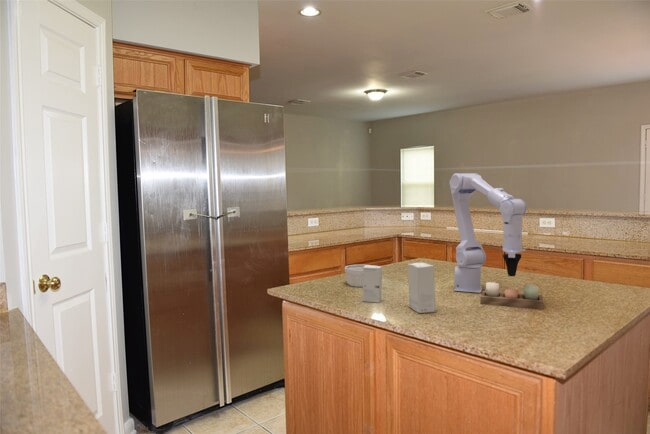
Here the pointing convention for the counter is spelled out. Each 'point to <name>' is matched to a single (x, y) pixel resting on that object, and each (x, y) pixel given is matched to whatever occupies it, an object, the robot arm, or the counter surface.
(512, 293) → the terracotta button
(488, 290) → the ivory button
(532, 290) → the sage button
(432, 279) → the skincare box
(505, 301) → the button panel
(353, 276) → the ramekin
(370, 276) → the skincare box
